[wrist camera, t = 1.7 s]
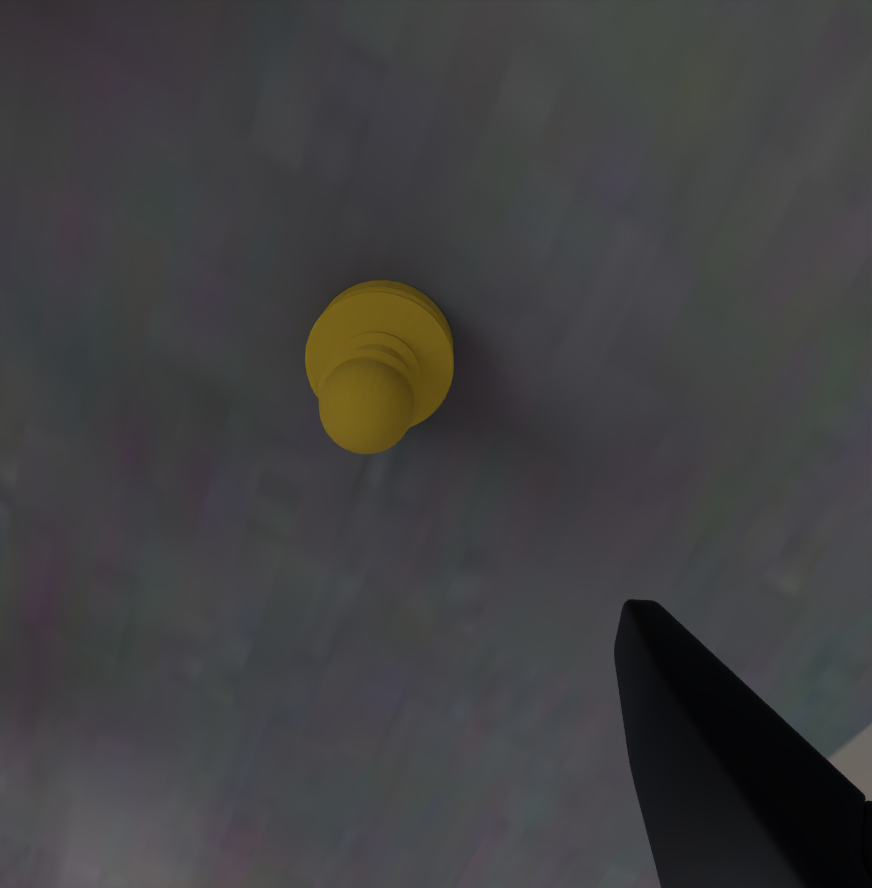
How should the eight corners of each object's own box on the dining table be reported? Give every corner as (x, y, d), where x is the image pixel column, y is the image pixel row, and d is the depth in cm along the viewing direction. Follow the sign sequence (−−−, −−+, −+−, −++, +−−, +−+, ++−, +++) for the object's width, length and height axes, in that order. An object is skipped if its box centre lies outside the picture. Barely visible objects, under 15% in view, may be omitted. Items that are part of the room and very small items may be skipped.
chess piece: (483, 356, 19) (489, 437, 14) (381, 437, 20) (359, 535, 15) (387, 247, 17) (361, 299, 13) (285, 341, 19) (230, 418, 14)
